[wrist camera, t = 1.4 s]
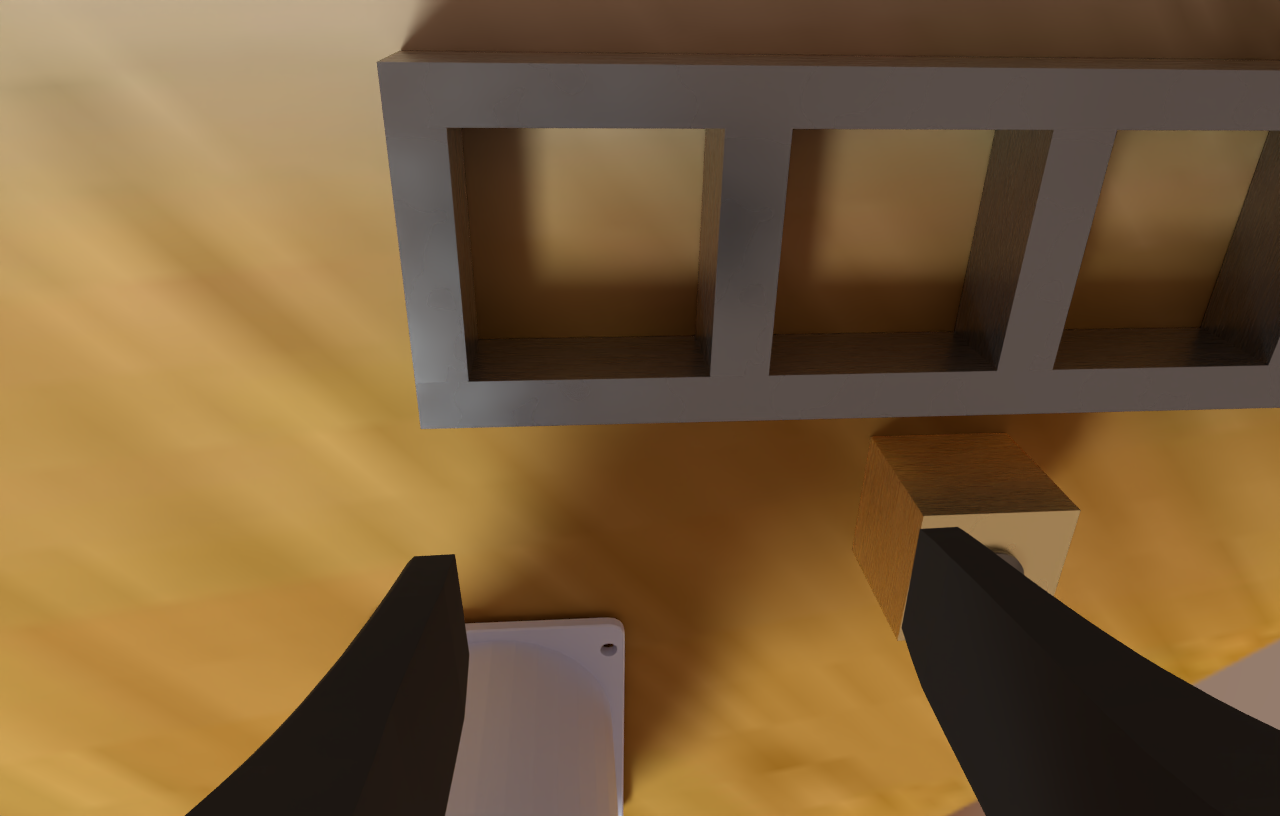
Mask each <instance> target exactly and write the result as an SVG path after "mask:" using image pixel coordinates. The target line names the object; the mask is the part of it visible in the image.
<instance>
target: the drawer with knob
mask: <svg viewBox="0 0 1280 816" xmlns="http://www.w3.org/2000/svg"><path fill="white" fill-rule="evenodd" d="M1080 511H1081V510H1080V509H1079V508H1078V507H1077V506H1076V505H1075V504H1074V503H1073V502H1072V501H1071V500H1070V499H1069V498H1068V497H1067V496H1066V495H1065V494H1064V493H1063V491H1062V490H1061V489H1060V488H1059V487H1058V486H1057V485H1056V484H1055V483H1054V482H1053V481H1052V480H1051V479H1050V478H1049V477H1048V476H1047V475H1046V474H1045V473H1044V472H1043V471H1042V470H1041V469H1040V468H1039V466H1038V465H1037V464H1036V463H1035V462H1034V461H1033V460H1032V459H1031V458H1030V457H1029V456H1028V455H1027V454H1026V453H1025V452H1024V451H1023V450H1022V449H1021V448H1020V447H1019V446H1018V445H1017V444H1016V443H1015V441H1014V440H1013V439H1012V438H1011V437H1010V436H1009V435H1008V434H1007V433H976V434H939V435H903V436H871V438H870V444H869V450H868V456H867V463H866V469H865V475H864V481H863V487H862V493H861V499H860V505H859V511H858V517H857V523H856V529H855V535H854V542H853V548H852V551H853V553H854V555H855V557H856V559H857V561H858V563H859V565H860V567H861V569H862V571H863V573H864V575H865V577H866V579H867V581H868V583H869V585H870V587H871V589H872V591H873V593H874V595H875V597H876V599H877V601H878V603H879V605H880V607H881V609H882V611H883V613H884V615H885V617H886V619H887V621H888V623H889V625H890V627H891V629H892V631H893V633H894V635H895V637H896V639H897V641H899V640H905V637H904V634H903V631H902V628H901V627H902V622H903V617H904V611H905V606H906V601H907V595H908V590H909V585H910V579H911V574H912V568H913V563H914V558H915V552H916V547H917V542H918V536H919V531H920V529H926V528H944V527H959V528H961V529H962V530H964V531H965V532H966V533H968V534H969V535H971V536H972V537H974V538H975V539H976V540H978V541H979V542H981V543H982V544H983V545H985V546H986V547H987V548H989V549H990V550H991V551H993V552H994V553H995V554H997V555H998V556H999V557H1001V558H1002V559H1003V560H1005V561H1006V562H1007V563H1009V564H1010V565H1012V566H1013V567H1014V568H1016V569H1017V570H1018V571H1020V572H1021V573H1022V574H1024V575H1025V576H1026V577H1028V578H1029V579H1030V580H1032V581H1033V582H1034V583H1036V584H1037V585H1038V586H1040V587H1041V588H1043V589H1044V590H1045V591H1047V592H1048V593H1049V594H1051V595H1052V596H1054V594H1055V590H1056V587H1057V584H1058V581H1059V578H1060V574H1061V571H1062V568H1063V565H1064V562H1065V558H1066V555H1067V552H1068V549H1069V546H1070V543H1071V539H1072V536H1073V533H1074V530H1075V527H1076V523H1077V520H1078V517H1079V514H1080Z"/></svg>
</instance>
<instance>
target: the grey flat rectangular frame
mask: <svg viewBox="0 0 1280 816" xmlns="http://www.w3.org/2000/svg"><path fill="white" fill-rule="evenodd" d="M377 68H378V76H379V85H380V93H381V101H382V110H383V118H384V126H385V134H386V143H387V151H388V159H389V168H390V176H391V184H392V193H393V201H394V209H395V218H396V226H397V234H398V243H399V251H400V259H401V268H402V276H403V284H404V293H405V301H406V309H407V318H408V326H409V334H410V342H411V351H412V359H413V367H414V376H415V384H416V392H417V401H418V409H419V417H420V426H421V429H436V428H476V427H516V426H557V425H597V424H637V423H678V422H718V421H758V420H799V419H839V418H879V417H920V416H960V415H1000V414H1041V413H1081V412H1122V411H1162V410H1202V409H1243V408H1280V60H1221V59H1126V58H1032V57H938V56H843V55H749V54H655V53H560V52H466V51H398V52H396V53H394V54H392V55H390V56H388V57H386V58H384V59H382V60H380V61H378V62H377ZM462 128H694V129H706V132H705V152H704V172H703V192H702V212H701V231H700V251H699V271H698V291H697V310H696V330H695V336H652V337H591V338H531V339H478V329H477V316H476V303H475V291H474V278H473V266H472V253H471V240H470V228H469V215H468V203H467V190H466V177H465V165H464V152H463V140H462ZM793 129H986V130H995V135H994V140H993V144H992V149H991V154H990V159H989V164H988V169H987V174H986V179H985V183H984V188H983V193H982V198H981V203H980V208H979V213H978V218H977V223H976V227H975V232H974V237H973V242H972V247H971V252H970V257H969V262H968V266H967V271H966V276H965V281H964V286H963V291H962V296H961V301H960V305H959V310H958V315H957V320H956V325H955V330H954V332H894V333H834V334H773V327H774V316H775V306H776V296H777V285H778V275H779V265H780V254H781V244H782V234H783V223H784V213H785V203H786V192H787V182H788V172H789V161H790V151H791V141H792V131H793ZM1117 130H1270V131H1269V134H1268V137H1267V140H1266V142H1265V145H1264V148H1263V151H1262V154H1261V157H1260V159H1259V162H1258V165H1257V168H1256V171H1255V174H1254V177H1253V179H1252V182H1251V185H1250V188H1249V191H1248V194H1247V197H1246V199H1245V202H1244V205H1243V208H1242V211H1241V214H1240V216H1239V219H1238V222H1237V225H1236V228H1235V231H1234V234H1233V236H1232V239H1231V242H1230V245H1229V248H1228V251H1227V253H1226V256H1225V259H1224V262H1223V265H1222V268H1221V271H1220V273H1219V276H1218V279H1217V282H1216V285H1215V288H1214V291H1213V293H1212V296H1211V299H1210V302H1209V305H1208V308H1207V310H1206V313H1205V316H1204V319H1203V322H1202V325H1201V327H1198V328H1137V329H1076V330H1063V329H1064V325H1065V321H1066V318H1067V314H1068V310H1069V307H1070V303H1071V299H1072V296H1073V292H1074V288H1075V284H1076V281H1077V277H1078V273H1079V270H1080V266H1081V262H1082V258H1083V255H1084V251H1085V247H1086V244H1087V240H1088V236H1089V232H1090V229H1091V225H1092V221H1093V218H1094V214H1095V210H1096V207H1097V203H1098V199H1099V195H1100V192H1101V188H1102V184H1103V181H1104V177H1105V173H1106V169H1107V166H1108V162H1109V158H1110V155H1111V151H1112V147H1113V144H1114V140H1115V136H1116V132H1117Z"/></svg>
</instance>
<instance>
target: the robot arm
mask: <svg viewBox="0 0 1280 816" xmlns="http://www.w3.org/2000/svg"><path fill="white" fill-rule="evenodd" d="M901 628H902V631H903V634H904V637H905V640H906V643H907V646H908V649H909V652H910V655H911V658H912V661H913V664H914V667H915V670H916V672H917V675H918V678H919V681H920V684H921V686H922V688H923V691H924V693H925V695H926V697H927V699H928V701H929V703H930V705H931V707H932V709H933V711H934V713H935V715H936V717H937V719H938V721H939V723H940V725H941V727H942V729H943V732H944V734H945V736H946V738H947V740H948V741H949V743H950V745H951V747H952V749H953V751H954V753H955V755H956V757H957V759H958V761H959V763H960V765H961V767H962V769H963V771H964V773H965V775H966V777H967V779H968V781H969V783H970V785H971V787H972V789H973V791H974V793H975V795H976V797H977V799H978V801H979V803H980V805H981V807H982V809H983V811H984V812H985V815H986V816H1280V730H1278V729H1276V728H1274V727H1272V726H1270V725H1268V724H1265V723H1263V722H1261V721H1259V720H1257V719H1255V718H1253V717H1251V716H1249V715H1247V714H1245V713H1243V712H1241V711H1239V710H1237V709H1235V708H1233V707H1231V706H1229V705H1227V704H1226V703H1224V702H1222V701H1220V700H1218V699H1216V698H1214V697H1212V696H1210V695H1209V694H1207V693H1205V692H1203V691H1202V690H1200V689H1198V688H1196V687H1194V686H1193V685H1191V684H1189V683H1187V682H1186V681H1184V680H1182V679H1180V678H1178V677H1177V676H1175V675H1173V674H1171V673H1170V672H1168V671H1166V670H1164V669H1163V668H1161V667H1159V666H1158V665H1156V664H1154V663H1153V662H1151V661H1149V660H1148V659H1146V658H1144V657H1143V656H1141V655H1140V654H1138V653H1136V652H1135V651H1133V650H1132V649H1130V648H1129V647H1127V646H1126V645H1124V644H1123V643H1121V642H1119V641H1118V640H1116V639H1115V638H1113V637H1112V636H1110V635H1109V634H1107V633H1106V632H1104V631H1102V630H1101V629H1099V628H1098V627H1096V626H1095V625H1094V624H1092V623H1091V622H1089V621H1088V620H1086V619H1085V618H1083V617H1082V616H1080V615H1079V614H1077V613H1076V612H1075V611H1073V610H1072V609H1070V608H1069V607H1068V606H1066V605H1065V604H1063V603H1062V602H1061V601H1059V600H1058V599H1056V598H1055V597H1054V596H1052V595H1051V594H1049V593H1048V592H1047V591H1045V590H1044V589H1043V588H1041V587H1040V586H1038V585H1037V584H1036V583H1034V582H1033V581H1032V580H1030V579H1029V578H1028V577H1026V576H1025V575H1024V574H1022V573H1021V572H1020V571H1018V570H1017V569H1016V568H1014V567H1013V566H1012V565H1010V564H1009V563H1007V562H1006V561H1005V560H1003V559H1002V558H1001V557H999V556H998V555H997V554H995V553H994V552H993V551H991V550H990V549H989V548H987V547H986V546H985V545H983V544H982V543H981V542H979V541H978V540H976V539H975V538H974V537H972V536H971V535H969V534H968V533H966V532H965V531H964V530H962V529H961V528H959V527H944V528H926V529H920V531H919V536H918V542H917V547H916V552H915V558H914V563H913V568H912V574H911V579H910V585H909V590H908V595H907V601H906V606H905V611H904V617H903V622H902V627H901ZM608 643H609V644H614V645H613V646H612V647H604V646H603V645H604V644H608ZM624 675H625V631H624V626H623V624H622V623H621V622H620V620H617V619H615V618H609V617H605V618H582V619H559V620H536V621H513V622H489V623H466V624H465V620H464V614H463V607H462V600H461V593H460V586H459V579H458V572H457V565H456V559H455V554H451V555H433V556H415V557H413V558H412V559H411V560H410V561H409V562H408V563H407V565H406V566H405V568H404V569H403V571H402V572H401V574H400V575H399V577H398V578H397V580H396V581H395V583H394V584H393V586H392V587H391V589H390V590H389V592H388V593H387V595H386V596H385V598H384V599H383V600H382V602H381V603H380V605H379V606H378V608H377V609H376V610H375V612H374V613H373V615H372V616H371V617H370V619H369V620H368V621H367V623H366V624H365V625H364V627H363V628H362V629H361V631H360V632H359V633H358V635H357V636H356V637H355V639H354V640H353V641H352V642H351V644H350V645H349V646H348V648H347V649H346V650H345V652H344V653H343V654H342V656H341V657H340V658H339V659H338V661H337V662H336V663H335V664H334V666H333V667H332V668H331V669H330V670H329V671H328V673H327V674H326V675H325V676H324V677H323V679H322V680H321V681H320V682H319V683H318V684H317V686H316V687H315V688H314V689H313V690H312V691H311V693H310V694H309V695H308V696H307V697H306V699H305V700H304V701H303V702H302V703H301V704H300V705H299V707H298V708H297V709H296V710H295V711H294V712H293V713H292V714H291V715H290V716H289V717H288V719H287V720H286V721H285V722H284V723H283V724H282V725H281V726H280V727H279V728H278V729H277V730H276V731H275V732H274V733H273V734H272V735H271V736H270V737H269V738H268V739H267V740H266V741H265V742H264V743H263V744H262V745H261V746H260V747H259V748H258V749H257V750H256V751H255V752H254V753H253V754H252V755H251V756H250V757H249V758H248V759H247V760H246V761H245V762H244V763H243V764H242V765H241V766H240V767H239V768H238V769H237V770H236V771H234V772H233V773H232V774H231V775H230V776H229V777H228V778H227V779H226V780H225V781H224V782H222V783H221V784H220V785H219V786H218V787H217V788H216V789H215V790H214V791H212V792H211V793H210V794H209V795H208V796H207V797H206V798H204V799H203V800H202V801H201V802H200V803H199V804H198V805H197V806H195V807H194V808H193V809H192V810H191V811H190V812H189V813H187V814H186V815H185V816H623V771H624Z"/></svg>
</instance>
